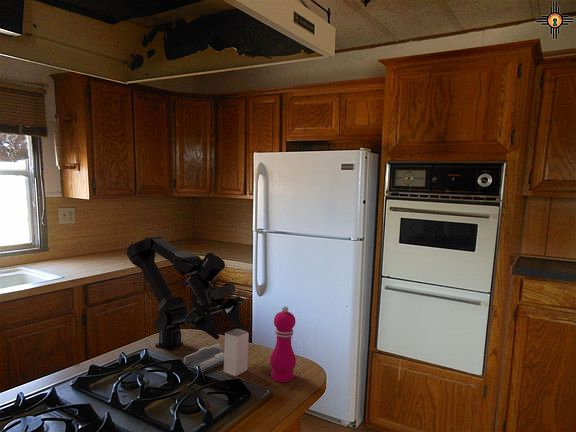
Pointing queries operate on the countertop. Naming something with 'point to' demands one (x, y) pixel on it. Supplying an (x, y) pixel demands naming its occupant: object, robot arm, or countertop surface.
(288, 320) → the pepper mill
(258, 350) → the countertop surface
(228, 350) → the block
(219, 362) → the rail plate
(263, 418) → the countertop surface
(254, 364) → the countertop surface
